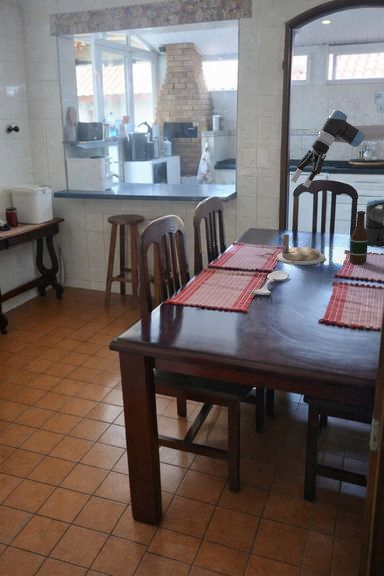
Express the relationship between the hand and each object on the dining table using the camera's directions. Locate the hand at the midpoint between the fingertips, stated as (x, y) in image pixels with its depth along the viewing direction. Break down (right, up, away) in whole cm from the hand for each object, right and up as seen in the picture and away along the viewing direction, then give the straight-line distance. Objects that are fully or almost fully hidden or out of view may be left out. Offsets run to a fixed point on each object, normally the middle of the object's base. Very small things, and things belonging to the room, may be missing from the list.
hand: (299, 184), depth 243 cm
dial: (+2, -34, +8) cm, 34 cm away
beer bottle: (+27, -37, -2) cm, 46 cm away
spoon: (-18, -49, -30) cm, 60 cm away
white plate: (+2, -35, +8) cm, 36 cm away
